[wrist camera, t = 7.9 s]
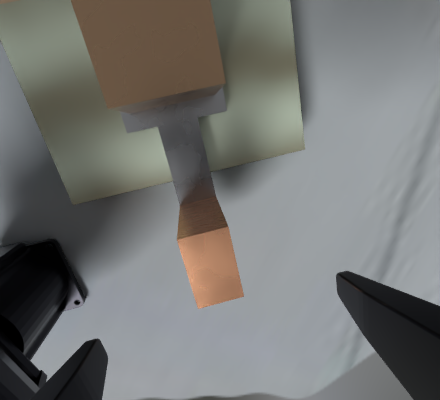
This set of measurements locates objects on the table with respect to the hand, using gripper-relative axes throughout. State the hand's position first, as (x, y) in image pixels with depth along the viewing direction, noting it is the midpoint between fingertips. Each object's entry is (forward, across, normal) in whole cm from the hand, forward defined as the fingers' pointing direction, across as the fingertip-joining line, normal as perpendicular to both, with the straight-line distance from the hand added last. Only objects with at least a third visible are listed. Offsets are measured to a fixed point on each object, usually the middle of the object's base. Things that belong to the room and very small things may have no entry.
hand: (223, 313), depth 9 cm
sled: (+9, 0, -6) cm, 11 cm away
